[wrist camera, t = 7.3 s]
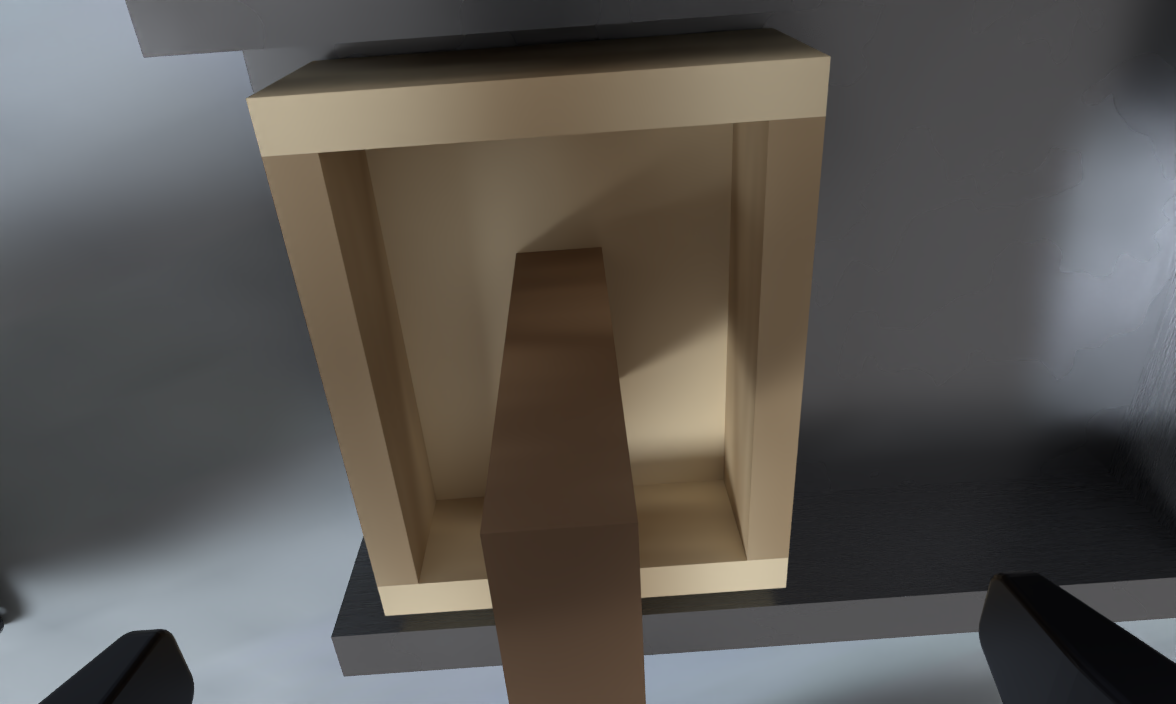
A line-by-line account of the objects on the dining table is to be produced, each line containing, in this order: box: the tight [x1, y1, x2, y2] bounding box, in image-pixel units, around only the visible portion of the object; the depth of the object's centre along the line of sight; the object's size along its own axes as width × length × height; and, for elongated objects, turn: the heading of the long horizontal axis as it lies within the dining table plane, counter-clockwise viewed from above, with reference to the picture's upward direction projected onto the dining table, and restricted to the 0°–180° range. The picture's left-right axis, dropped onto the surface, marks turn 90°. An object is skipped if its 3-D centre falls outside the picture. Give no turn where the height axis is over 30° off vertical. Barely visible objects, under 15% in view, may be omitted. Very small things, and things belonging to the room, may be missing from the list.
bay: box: [125, 0, 1176, 676], centre depth 15 cm, size 19×14×4 cm
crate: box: [246, 28, 831, 704], centre depth 12 cm, size 8×10×8 cm
